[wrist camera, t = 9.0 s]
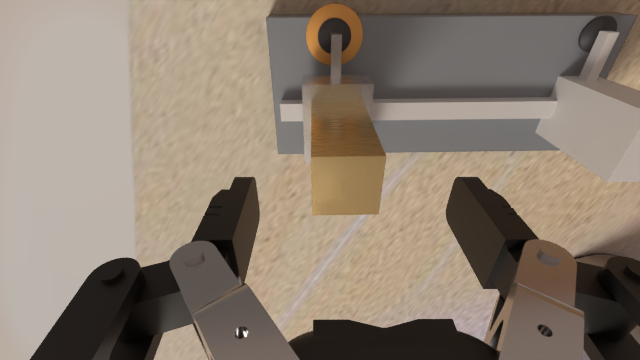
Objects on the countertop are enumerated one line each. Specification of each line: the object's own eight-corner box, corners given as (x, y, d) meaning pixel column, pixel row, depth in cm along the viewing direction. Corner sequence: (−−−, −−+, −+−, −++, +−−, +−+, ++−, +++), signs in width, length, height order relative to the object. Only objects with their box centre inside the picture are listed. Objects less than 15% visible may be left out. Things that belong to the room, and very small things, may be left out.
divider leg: (370, 32, 18) (411, 72, 10) (361, 143, 22) (386, 230, 14) (301, 32, 18) (294, 73, 10) (305, 144, 22) (301, 232, 14)
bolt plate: (622, 0, 19) (789, 12, 12) (556, 141, 24) (649, 202, 18) (267, 2, 19) (243, 15, 12) (279, 144, 24) (267, 209, 17)
